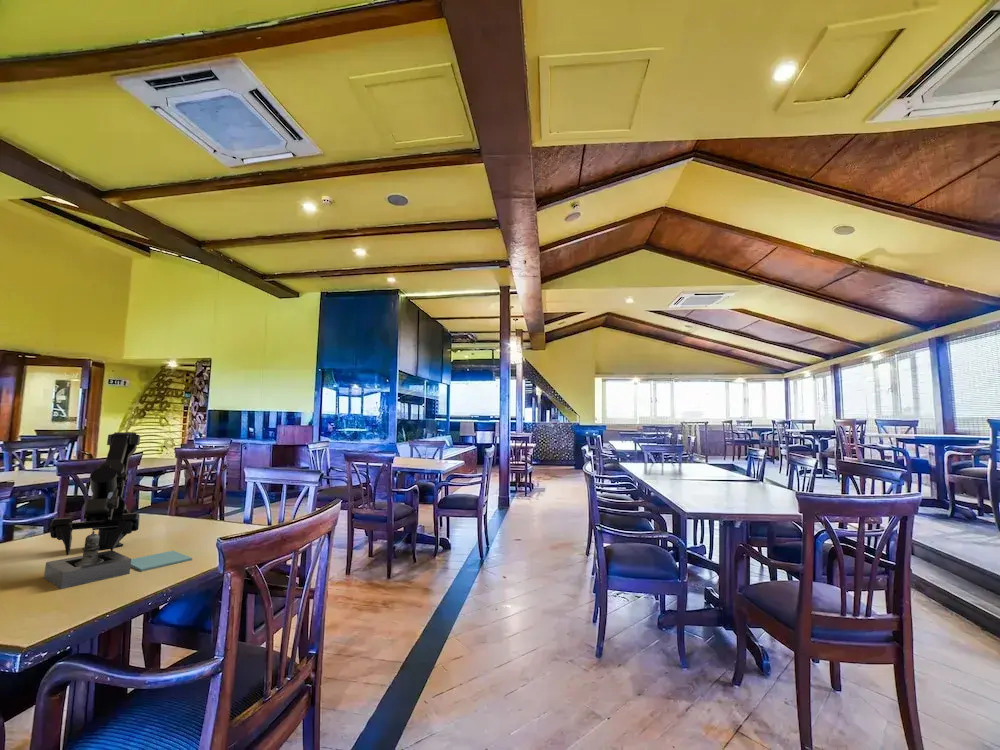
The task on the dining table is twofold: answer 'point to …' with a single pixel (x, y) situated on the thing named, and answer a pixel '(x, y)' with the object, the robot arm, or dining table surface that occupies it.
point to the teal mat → (158, 560)
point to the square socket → (86, 569)
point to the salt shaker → (90, 551)
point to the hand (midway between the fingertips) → (89, 551)
